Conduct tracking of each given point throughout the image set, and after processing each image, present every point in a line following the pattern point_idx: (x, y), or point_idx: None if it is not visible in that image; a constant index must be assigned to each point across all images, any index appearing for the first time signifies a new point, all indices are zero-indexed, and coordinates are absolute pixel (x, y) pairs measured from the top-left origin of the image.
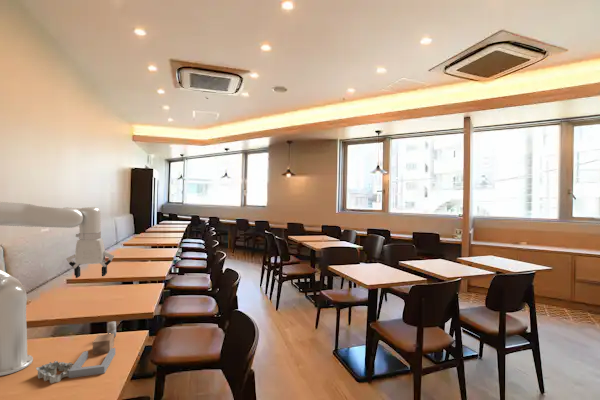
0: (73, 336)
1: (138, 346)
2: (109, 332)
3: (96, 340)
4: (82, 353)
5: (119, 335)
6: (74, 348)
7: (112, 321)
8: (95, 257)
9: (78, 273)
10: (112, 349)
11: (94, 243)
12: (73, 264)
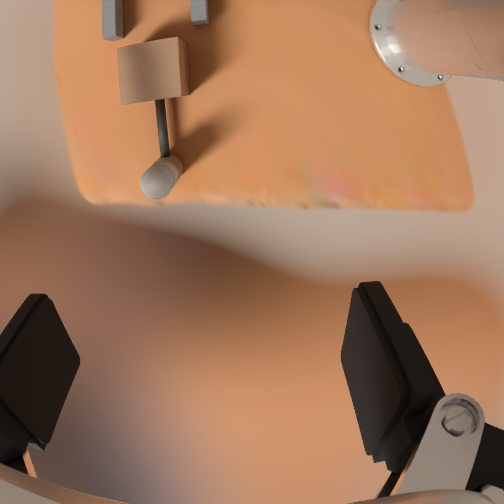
0: (315, 200)
1: (59, 89)
2: (167, 159)
3: (167, 49)
4: (204, 6)
5: None
6: (273, 98)
7: (159, 198)
8: None
9: (363, 350)
10: (108, 27)
11: None
12: (484, 462)
